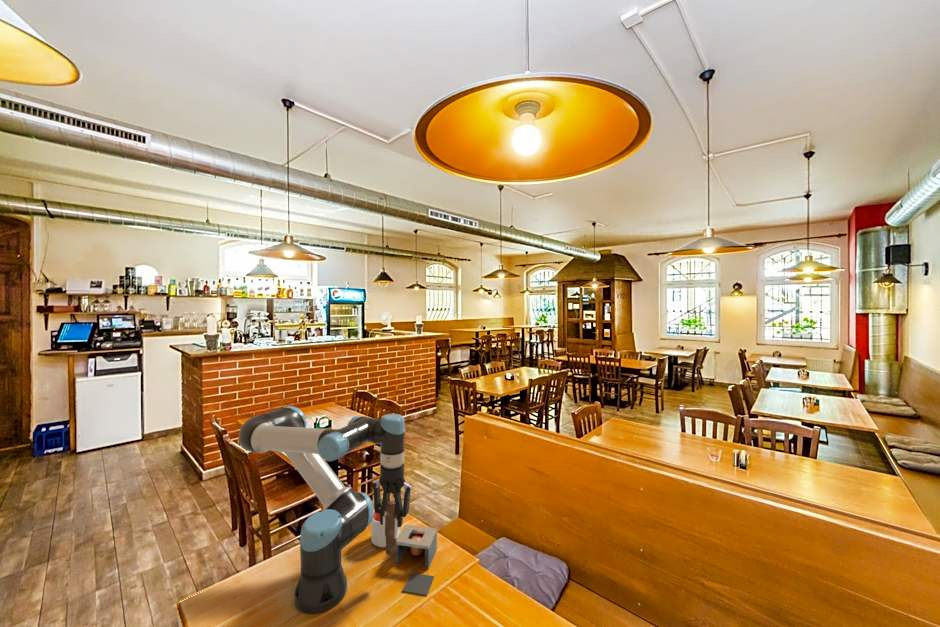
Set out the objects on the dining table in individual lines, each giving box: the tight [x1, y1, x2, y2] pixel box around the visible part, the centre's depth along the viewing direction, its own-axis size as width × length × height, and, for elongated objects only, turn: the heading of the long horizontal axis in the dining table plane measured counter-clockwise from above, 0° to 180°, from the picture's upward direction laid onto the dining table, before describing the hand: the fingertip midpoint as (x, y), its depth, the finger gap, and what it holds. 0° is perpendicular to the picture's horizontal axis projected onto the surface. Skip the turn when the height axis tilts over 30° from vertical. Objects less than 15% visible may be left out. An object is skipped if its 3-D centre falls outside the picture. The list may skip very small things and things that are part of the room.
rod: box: [385, 500, 397, 556], centre depth 122 cm, size 3×3×16 cm
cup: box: [370, 510, 386, 548], centre depth 142 cm, size 10×10×10 cm
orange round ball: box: [410, 536, 423, 556], centre depth 133 cm, size 4×4×4 cm
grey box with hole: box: [394, 524, 438, 570], centre depth 133 cm, size 12×10×8 cm
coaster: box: [401, 572, 435, 597], centre depth 121 cm, size 8×8×1 cm
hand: (391, 534), depth 122 cm, fingers closed on rod, 3 cm apart
